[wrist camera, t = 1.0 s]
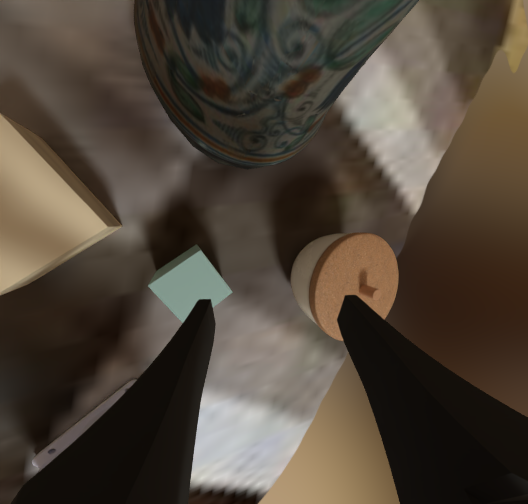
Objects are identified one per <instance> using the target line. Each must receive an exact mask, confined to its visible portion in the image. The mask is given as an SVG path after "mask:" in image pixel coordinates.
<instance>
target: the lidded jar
mask: <svg viewBox="0 0 528 504" xmlns="http://www.w3.org/2000/svg"><path fill="white" fill-rule="evenodd" d="M397 287H398V266H397V261H396V257H395V255H394V253H393V251H392V249H391V247H390V246H389V245H388V244H387V243H386V241H385V240H383V239H382V238H381V237H379V236H377V235H375V234H371V233H338V234H331V235H326V236H323V237H320V238H318V239H315V240H314V241H312V242H310V243H309V244H308V245H306V246H305V247H304V248H303V249H302V250H301V252H300V253H299V254H298V256H297V257H296V259H295V261H294V263H293V267H292V271H291V288H292V292H293V295H294V297H295V300H296V302H297V303H298V305H299V306H300V308H301V309H302V310H303V312H304V313H305V314H306V315H307V316H308V317H309V318H310V319H311V320H312V321H313V322H314V323H316V324H317V325H318V326H319V327H320V328H321V329H322V330H323V331H324V332H325V333H327V334H328V335H329V336H331V337H333V338H334V339H337V340H340V341H343V338H342V335H341V332H340V329H339V326H338V322H337V318H338V315H339V312H340V309H341V306H342V303H343V300H344V297H345V295H357V296H358V297H359V298H360V299H362V300H363V301H364V302H365V303H366V304H367V305H368V306H369V307H371V308H372V309H373V310H374V311H375V312H376V313H377V314H378V315H379V316H381V317H382V318H383V319H385V317H386V316H387V314H388V312H389V311H390V309H391V307H392V304H393V302H394V299H395V296H396V291H397Z"/></svg>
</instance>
